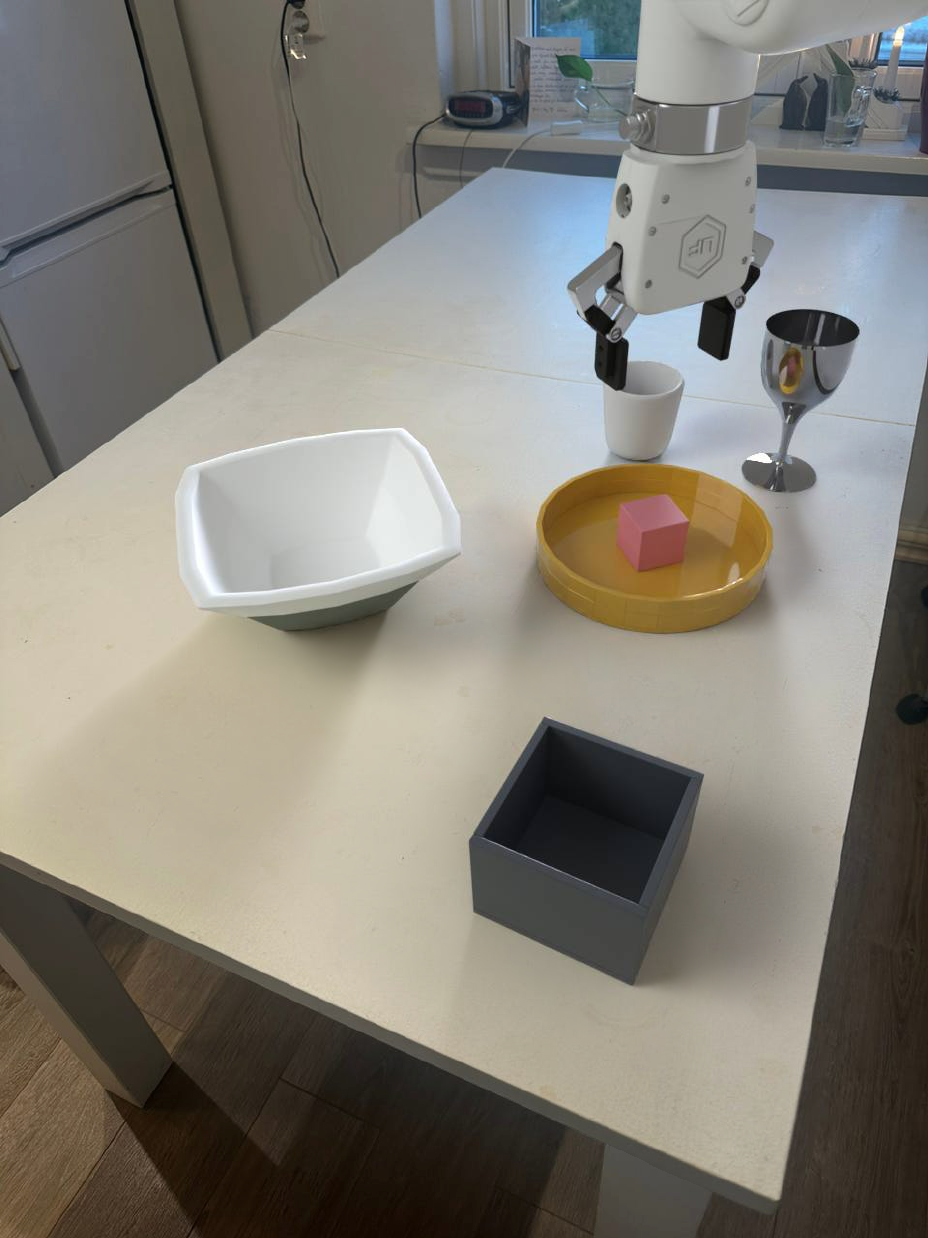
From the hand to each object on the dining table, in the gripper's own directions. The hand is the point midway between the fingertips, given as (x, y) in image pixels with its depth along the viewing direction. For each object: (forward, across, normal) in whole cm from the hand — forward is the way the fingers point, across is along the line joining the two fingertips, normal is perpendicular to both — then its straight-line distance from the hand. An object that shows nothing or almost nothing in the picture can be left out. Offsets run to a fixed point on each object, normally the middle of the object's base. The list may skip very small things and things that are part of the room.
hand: (662, 368), depth 69 cm
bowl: (+17, -28, +8) cm, 33 cm away
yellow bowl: (+17, -1, -2) cm, 17 cm away
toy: (+16, -1, -2) cm, 17 cm away
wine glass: (+17, +18, +3) cm, 25 cm away
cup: (+17, +10, +14) cm, 24 cm away
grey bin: (+17, -23, -27) cm, 40 cm away
